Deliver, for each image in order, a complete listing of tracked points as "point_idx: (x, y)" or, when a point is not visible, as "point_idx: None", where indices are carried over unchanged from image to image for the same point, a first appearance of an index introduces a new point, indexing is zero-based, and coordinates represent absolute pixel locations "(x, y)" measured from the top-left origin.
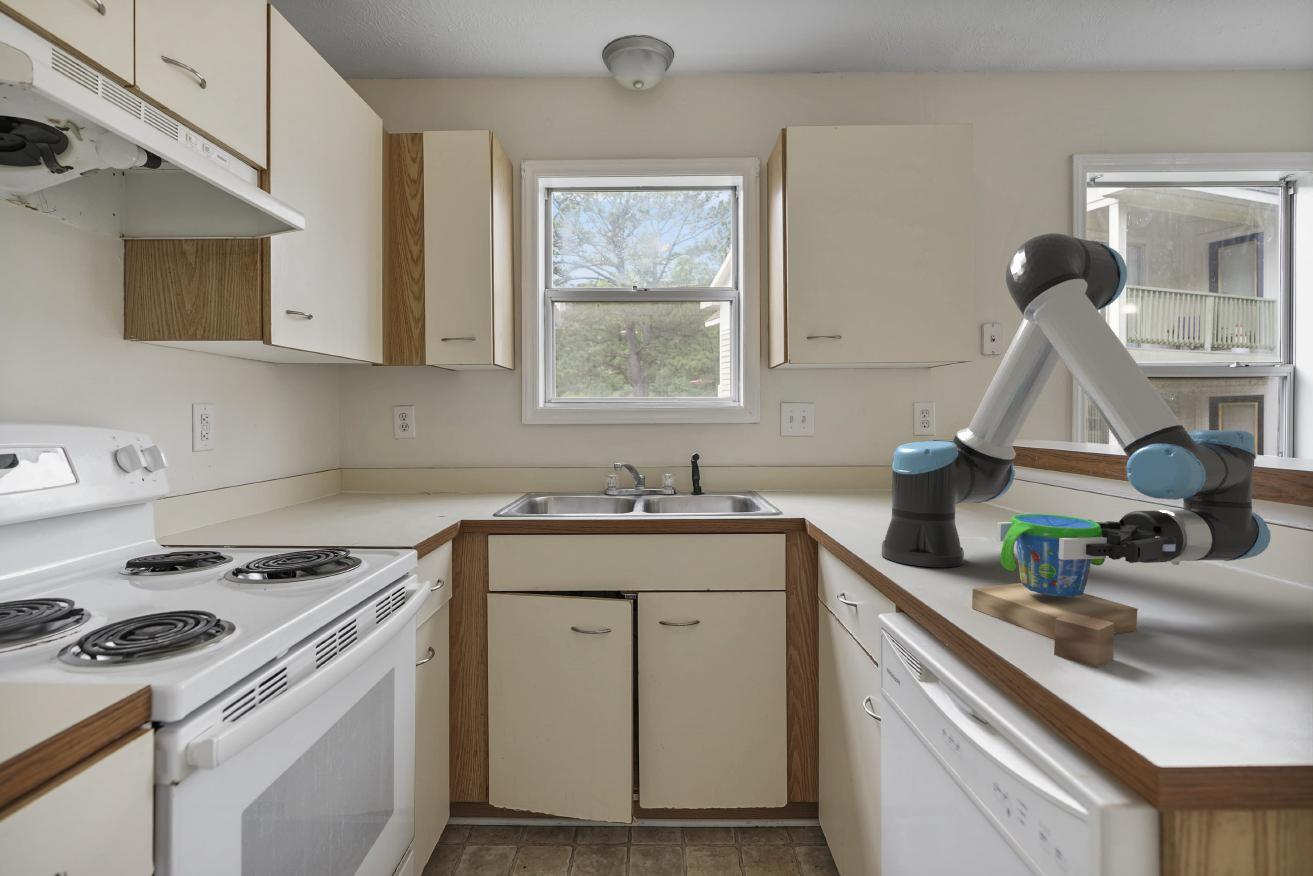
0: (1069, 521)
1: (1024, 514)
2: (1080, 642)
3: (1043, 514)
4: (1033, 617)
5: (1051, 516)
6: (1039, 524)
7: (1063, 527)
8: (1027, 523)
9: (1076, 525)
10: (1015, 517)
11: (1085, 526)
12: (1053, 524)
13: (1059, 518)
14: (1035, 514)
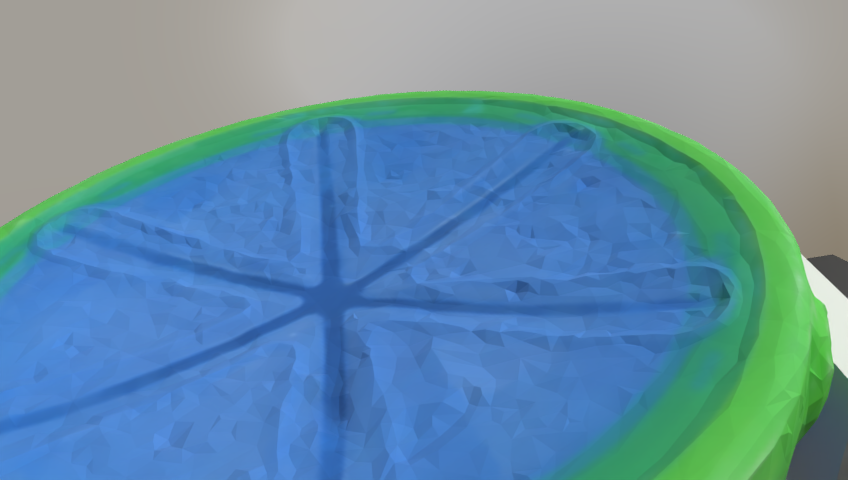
0: (423, 471)
1: (706, 158)
2: None
3: (775, 283)
4: None
5: (702, 348)
6: (358, 199)
7: (48, 201)
8: (287, 113)
9: (195, 442)
10: (522, 103)
11: (30, 451)
12: (400, 311)
13: (605, 411)
14: (747, 223)
